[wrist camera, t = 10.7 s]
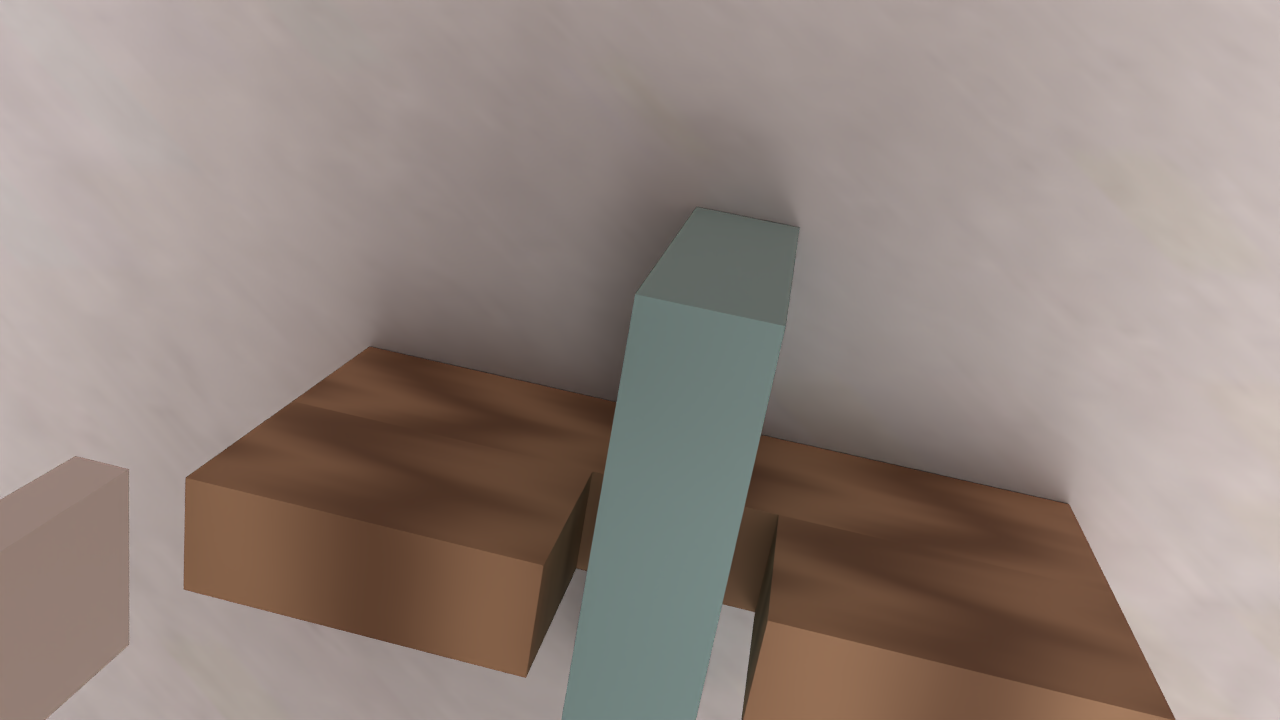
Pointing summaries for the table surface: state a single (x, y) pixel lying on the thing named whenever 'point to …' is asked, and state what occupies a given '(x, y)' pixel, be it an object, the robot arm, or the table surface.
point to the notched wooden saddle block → (563, 533)
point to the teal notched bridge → (680, 466)
